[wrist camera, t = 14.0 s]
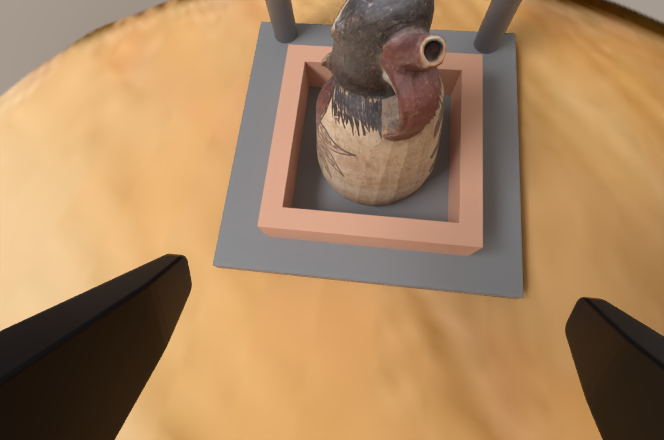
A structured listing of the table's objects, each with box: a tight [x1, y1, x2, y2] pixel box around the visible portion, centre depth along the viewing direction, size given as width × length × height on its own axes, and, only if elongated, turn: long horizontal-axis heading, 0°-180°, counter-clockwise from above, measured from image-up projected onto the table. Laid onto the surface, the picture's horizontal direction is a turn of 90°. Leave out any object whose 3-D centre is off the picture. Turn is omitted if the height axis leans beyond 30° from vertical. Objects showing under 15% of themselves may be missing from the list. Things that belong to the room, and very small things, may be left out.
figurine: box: [316, 0, 446, 206], centre depth 17 cm, size 7×7×12 cm
